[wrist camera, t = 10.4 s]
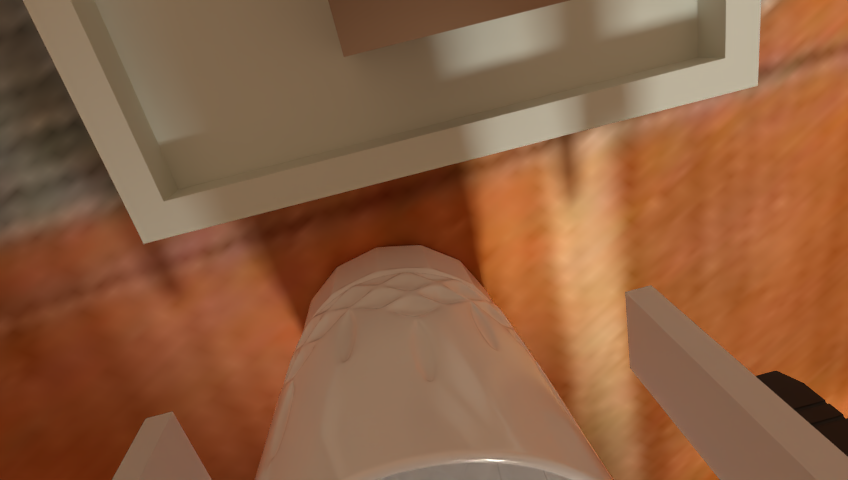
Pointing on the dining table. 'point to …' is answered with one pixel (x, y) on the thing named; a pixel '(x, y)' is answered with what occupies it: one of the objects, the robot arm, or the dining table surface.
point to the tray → (360, 92)
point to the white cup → (417, 384)
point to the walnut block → (414, 19)
